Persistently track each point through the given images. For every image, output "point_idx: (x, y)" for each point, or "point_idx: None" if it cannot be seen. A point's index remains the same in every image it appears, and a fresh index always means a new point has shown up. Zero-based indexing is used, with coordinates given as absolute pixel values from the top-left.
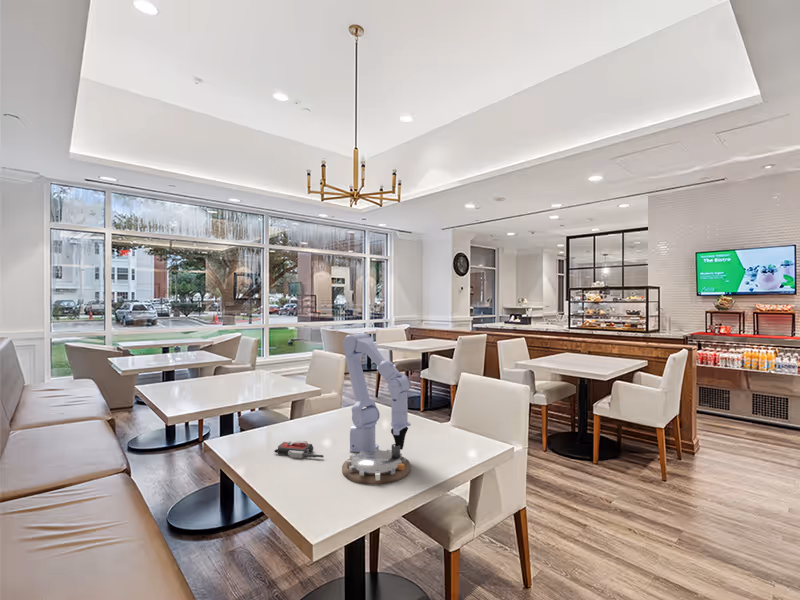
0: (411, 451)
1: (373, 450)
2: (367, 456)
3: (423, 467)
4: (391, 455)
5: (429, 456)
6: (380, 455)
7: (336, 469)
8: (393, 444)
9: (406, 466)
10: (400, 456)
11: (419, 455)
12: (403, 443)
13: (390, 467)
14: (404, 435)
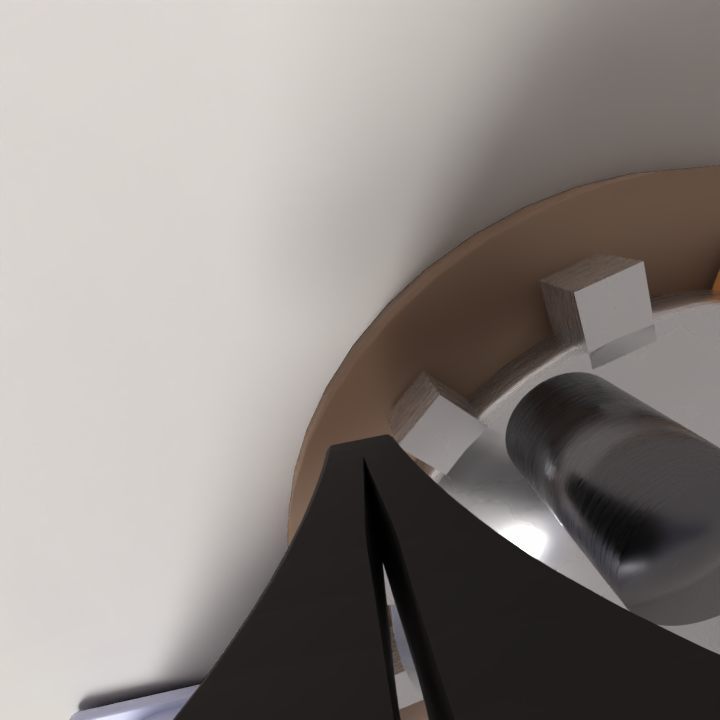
0: (8, 358)
1: (419, 700)
2: None
3: (492, 11)
4: (525, 495)
5: (36, 11)
6: None
7: None
8: (663, 610)
9: (635, 233)
10: (451, 393)
11: (87, 201)
12: (403, 481)
13: None
14: (705, 652)
